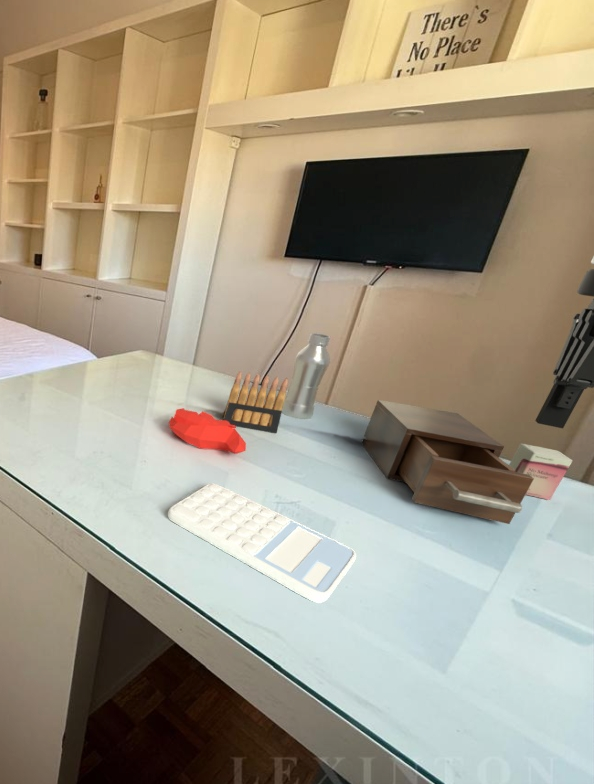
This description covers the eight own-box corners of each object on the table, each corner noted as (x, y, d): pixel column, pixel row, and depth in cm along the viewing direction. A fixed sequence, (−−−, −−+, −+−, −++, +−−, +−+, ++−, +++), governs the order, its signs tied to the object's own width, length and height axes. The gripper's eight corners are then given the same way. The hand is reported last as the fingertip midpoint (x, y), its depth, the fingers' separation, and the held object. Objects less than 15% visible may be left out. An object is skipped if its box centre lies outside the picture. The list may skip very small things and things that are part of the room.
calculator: (209, 489, 73) (212, 479, 72) (356, 561, 59) (361, 549, 58) (163, 518, 64) (166, 507, 64) (321, 609, 50) (327, 596, 50)
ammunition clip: (222, 423, 99) (236, 371, 95) (221, 420, 101) (234, 369, 96) (276, 433, 96) (293, 380, 92) (274, 429, 98) (290, 377, 94)
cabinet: (478, 498, 76) (504, 446, 73) (386, 478, 81) (407, 428, 77) (437, 458, 90) (457, 413, 87) (360, 443, 94) (377, 399, 91)
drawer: (527, 542, 64) (555, 494, 61) (426, 517, 68) (447, 471, 65) (462, 479, 80) (481, 439, 78) (383, 462, 84) (399, 424, 82)
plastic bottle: (312, 421, 104) (340, 336, 97) (306, 429, 99) (335, 340, 92) (281, 412, 108) (306, 330, 101) (273, 420, 103) (299, 334, 96)
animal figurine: (233, 468, 80) (240, 442, 78) (159, 436, 90) (163, 413, 89) (260, 451, 87) (267, 427, 86) (188, 423, 98) (193, 401, 96)
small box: (511, 492, 79) (533, 452, 76) (499, 481, 83) (519, 442, 80) (551, 501, 77) (574, 460, 74) (536, 489, 81) (558, 449, 78)
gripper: (701, 275, 56) (601, 446, 64) (650, 271, 66) (569, 419, 74) (608, 268, 60) (526, 430, 68) (574, 265, 70) (505, 406, 78)
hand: (548, 424), depth 71 cm, fingers closed
